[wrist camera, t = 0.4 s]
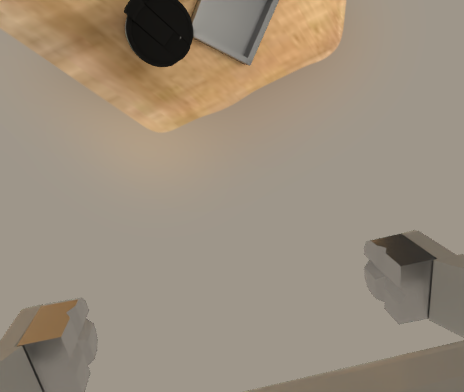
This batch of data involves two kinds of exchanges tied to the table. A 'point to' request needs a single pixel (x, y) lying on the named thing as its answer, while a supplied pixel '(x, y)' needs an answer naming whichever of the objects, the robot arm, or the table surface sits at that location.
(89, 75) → the table surface
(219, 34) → the caddy
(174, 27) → the travel mug
